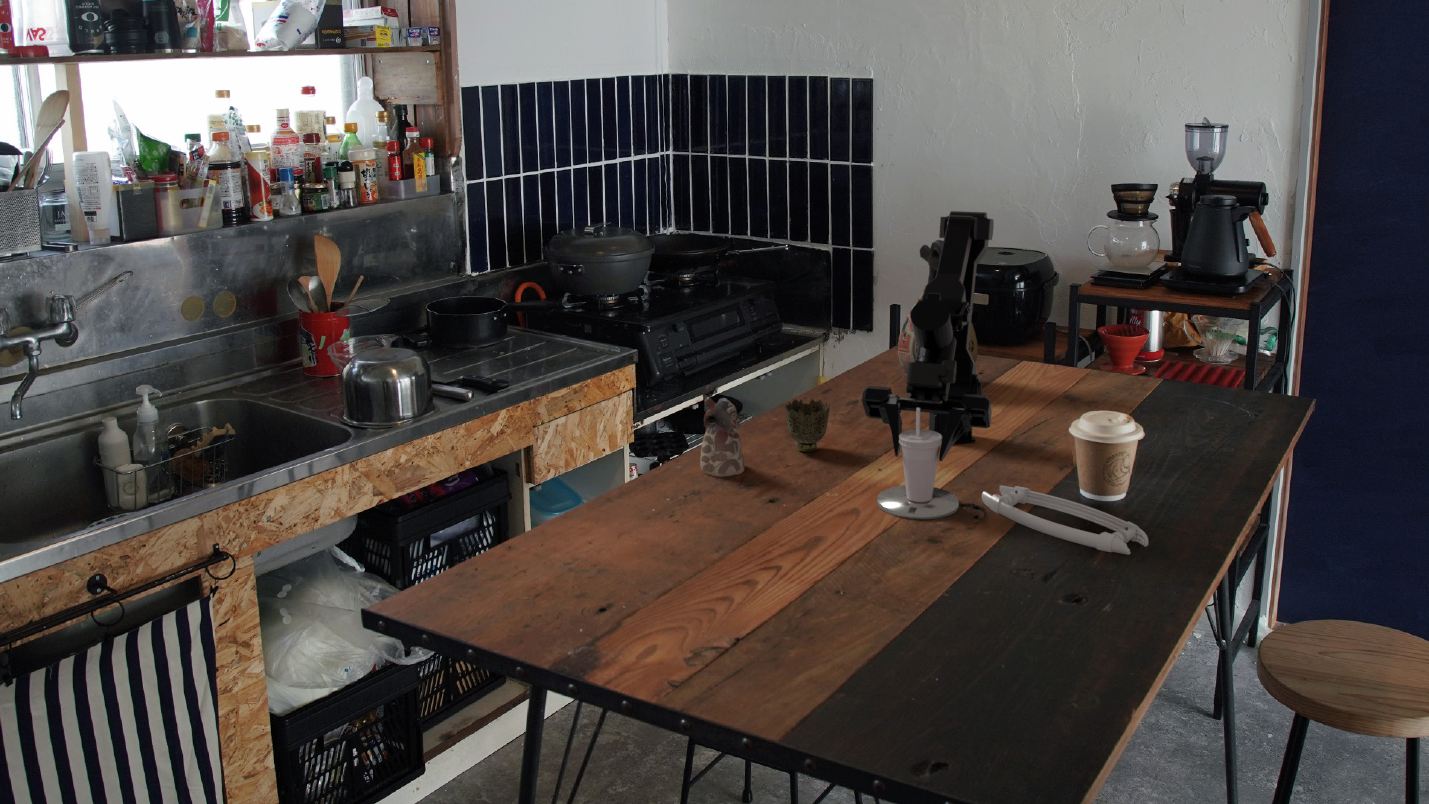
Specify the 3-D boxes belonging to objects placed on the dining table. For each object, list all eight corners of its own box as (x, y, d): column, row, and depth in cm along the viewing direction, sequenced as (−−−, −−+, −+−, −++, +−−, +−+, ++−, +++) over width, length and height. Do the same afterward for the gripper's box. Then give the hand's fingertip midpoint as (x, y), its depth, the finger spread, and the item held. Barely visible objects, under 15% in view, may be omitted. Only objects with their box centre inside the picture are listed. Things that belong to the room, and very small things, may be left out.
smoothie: (888, 495, 186) (890, 406, 182) (921, 486, 189) (923, 398, 185) (917, 508, 180) (918, 416, 176) (950, 499, 184) (952, 408, 180)
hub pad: (885, 486, 192) (885, 481, 192) (963, 494, 188) (964, 490, 188) (869, 514, 181) (869, 509, 181) (952, 523, 178) (952, 518, 177)
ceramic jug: (887, 379, 251) (892, 232, 242) (962, 376, 252) (969, 230, 244) (909, 403, 235) (915, 246, 226) (988, 400, 236) (997, 244, 227)
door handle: (1011, 494, 190) (1158, 543, 171) (969, 510, 184) (1116, 563, 165) (1012, 478, 189) (1159, 525, 170) (970, 493, 183) (1118, 544, 164)
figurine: (735, 479, 196) (735, 406, 193) (693, 474, 198) (692, 402, 195) (750, 464, 202) (750, 394, 199) (709, 460, 205) (708, 390, 201)
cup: (829, 443, 212) (830, 398, 210) (828, 457, 205) (829, 411, 203) (785, 442, 213) (786, 397, 211) (783, 456, 206) (784, 410, 204)
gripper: (865, 334, 184) (847, 427, 178) (993, 342, 178) (979, 439, 172) (875, 370, 194) (858, 460, 187) (996, 380, 188) (983, 473, 181)
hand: (918, 457), depth 181 cm, fingers closed on smoothie, 6 cm apart
